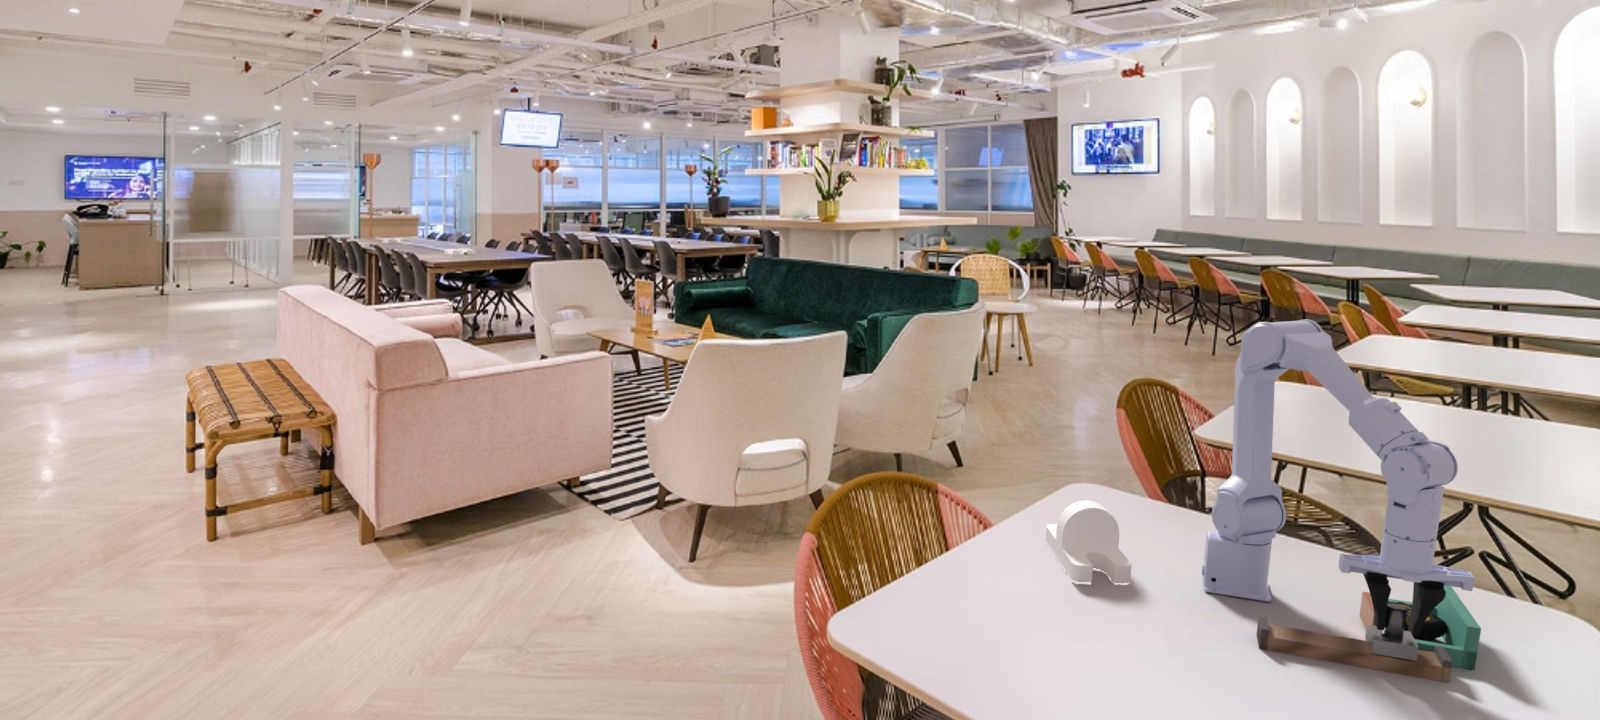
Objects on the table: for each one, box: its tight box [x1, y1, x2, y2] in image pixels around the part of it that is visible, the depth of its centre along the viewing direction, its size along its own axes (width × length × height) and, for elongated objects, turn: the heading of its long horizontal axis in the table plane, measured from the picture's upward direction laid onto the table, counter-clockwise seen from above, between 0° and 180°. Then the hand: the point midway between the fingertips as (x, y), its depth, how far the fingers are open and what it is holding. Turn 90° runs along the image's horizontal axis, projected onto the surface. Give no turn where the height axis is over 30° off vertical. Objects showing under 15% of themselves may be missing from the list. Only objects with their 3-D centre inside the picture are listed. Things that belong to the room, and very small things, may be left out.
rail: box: [1256, 615, 1453, 683], centre depth 118 cm, size 22×4×3 cm, turn 67°
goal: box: [1387, 585, 1482, 671], centre depth 123 cm, size 10×14×6 cm
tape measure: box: [1396, 602, 1447, 642], centre depth 124 cm, size 7×7×4 cm
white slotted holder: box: [1045, 499, 1133, 584], centre depth 149 cm, size 10×18×11 cm, turn 179°
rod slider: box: [1359, 591, 1419, 661], centre depth 121 cm, size 5×16×8 cm, turn 157°
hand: (1396, 629), depth 116 cm, fingers open, 3 cm apart
